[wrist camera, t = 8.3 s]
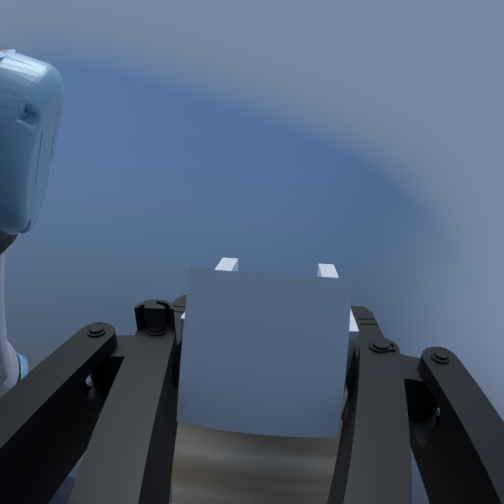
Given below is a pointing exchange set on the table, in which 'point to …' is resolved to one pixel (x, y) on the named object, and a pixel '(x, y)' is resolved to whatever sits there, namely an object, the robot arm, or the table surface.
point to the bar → (264, 353)
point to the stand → (251, 467)
